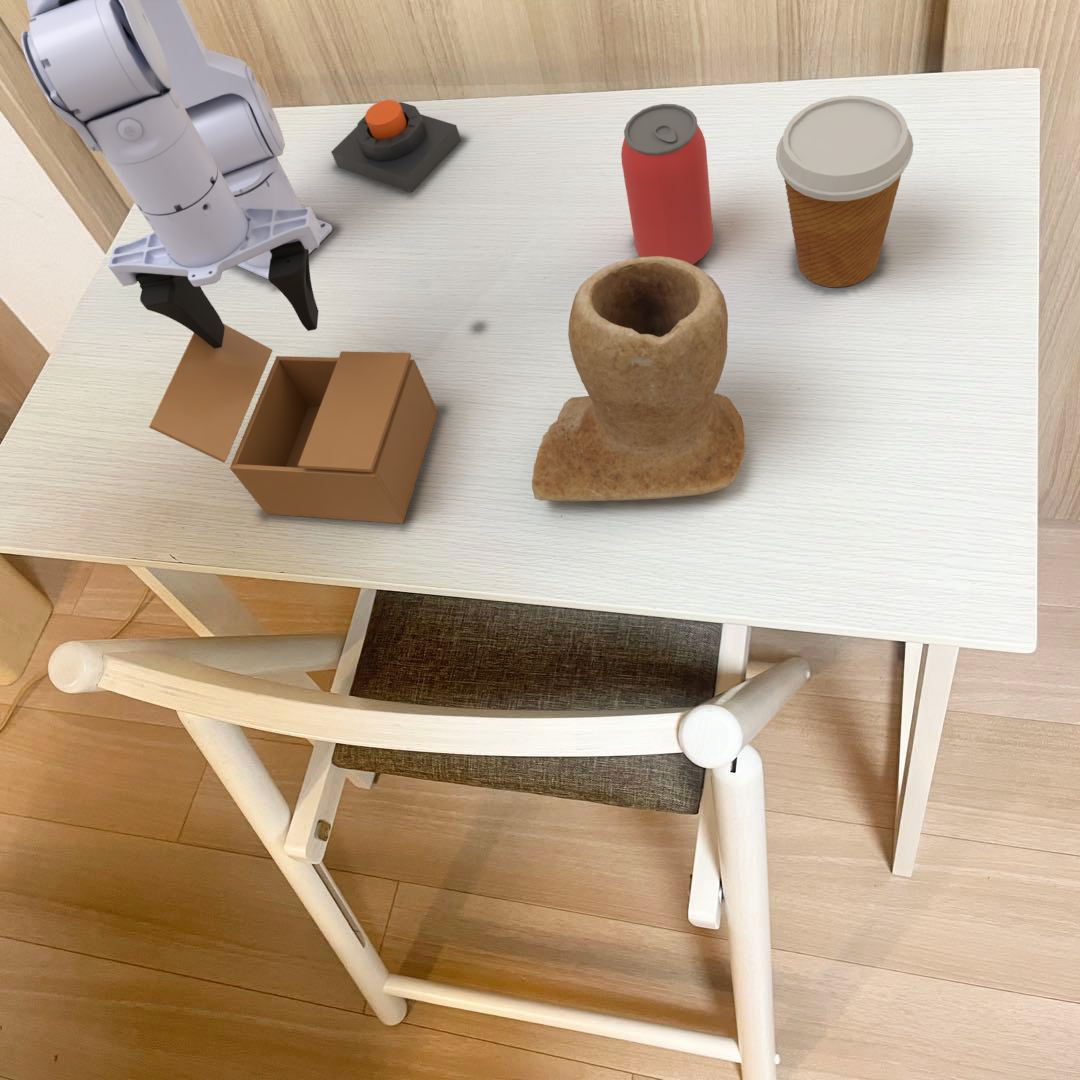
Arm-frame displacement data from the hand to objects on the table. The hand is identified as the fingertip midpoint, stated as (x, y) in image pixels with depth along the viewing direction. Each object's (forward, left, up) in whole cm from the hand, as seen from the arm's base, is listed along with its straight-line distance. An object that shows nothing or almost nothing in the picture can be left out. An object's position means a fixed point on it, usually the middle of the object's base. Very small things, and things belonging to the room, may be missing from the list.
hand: (265, 329), depth 77 cm
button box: (-15, +29, -10) cm, 34 cm away
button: (-15, +29, -7) cm, 33 cm away
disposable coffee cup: (+30, +33, -10) cm, 46 cm away
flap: (-1, -6, -1) cm, 6 cm away
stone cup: (+26, +10, -10) cm, 30 cm away
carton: (+6, -2, -10) cm, 12 cm away
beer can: (+17, +29, -10) cm, 35 cm away
